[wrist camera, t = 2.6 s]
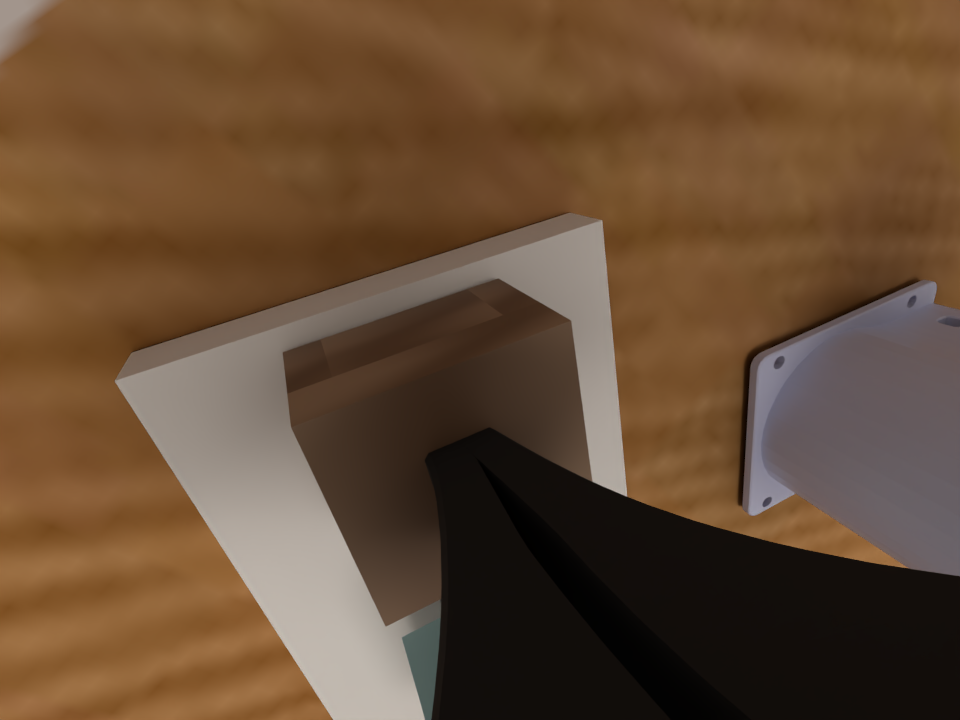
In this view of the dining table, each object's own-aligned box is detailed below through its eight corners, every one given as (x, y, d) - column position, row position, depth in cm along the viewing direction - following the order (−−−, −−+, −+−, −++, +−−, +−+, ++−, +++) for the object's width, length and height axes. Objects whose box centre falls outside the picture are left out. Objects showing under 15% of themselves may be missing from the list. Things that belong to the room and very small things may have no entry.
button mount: (570, 212, 14) (657, 232, 11) (623, 662, 23) (677, 739, 20) (131, 352, 11) (83, 432, 8) (400, 795, 21) (424, 905, 18)
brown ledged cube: (498, 278, 12) (571, 320, 9) (532, 446, 14) (597, 520, 11) (282, 351, 10) (291, 427, 8) (358, 523, 13) (385, 627, 10)
